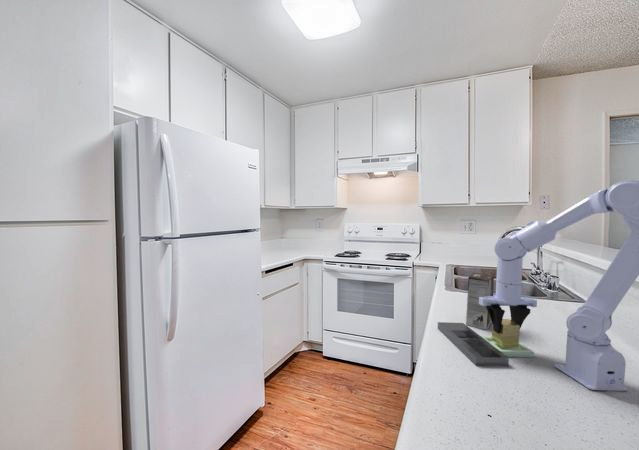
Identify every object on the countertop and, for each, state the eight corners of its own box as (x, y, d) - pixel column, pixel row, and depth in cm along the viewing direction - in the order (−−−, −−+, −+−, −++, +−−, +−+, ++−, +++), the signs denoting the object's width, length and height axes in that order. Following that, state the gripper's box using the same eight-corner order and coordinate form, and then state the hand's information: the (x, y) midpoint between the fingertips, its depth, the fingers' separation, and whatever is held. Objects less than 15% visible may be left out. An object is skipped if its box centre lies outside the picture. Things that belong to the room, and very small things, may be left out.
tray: (533, 357, 75) (534, 352, 75) (498, 356, 75) (499, 351, 74) (510, 341, 84) (510, 336, 84) (479, 341, 84) (479, 336, 83)
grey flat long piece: (508, 365, 70) (508, 357, 70) (475, 365, 70) (475, 356, 70) (462, 329, 92) (463, 322, 92) (437, 328, 92) (437, 321, 92)
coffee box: (471, 317, 103) (473, 272, 102) (492, 322, 99) (495, 275, 98) (465, 324, 96) (467, 276, 95) (487, 330, 92) (490, 279, 91)
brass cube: (518, 347, 77) (519, 325, 77) (501, 347, 77) (503, 324, 77) (507, 340, 81) (508, 319, 81) (491, 339, 81) (493, 318, 81)
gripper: (524, 279, 82) (522, 326, 83) (473, 278, 82) (471, 325, 83) (544, 285, 75) (541, 337, 76) (488, 284, 75) (485, 336, 76)
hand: (505, 332), depth 79 cm, fingers closed on brass cube, 4 cm apart
